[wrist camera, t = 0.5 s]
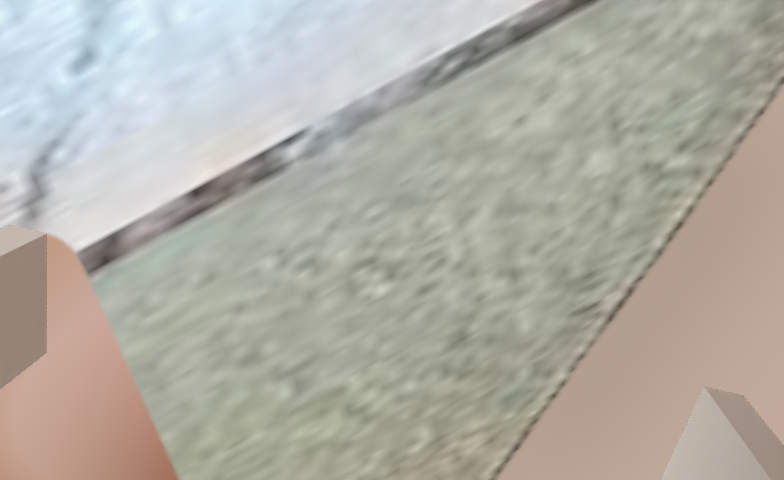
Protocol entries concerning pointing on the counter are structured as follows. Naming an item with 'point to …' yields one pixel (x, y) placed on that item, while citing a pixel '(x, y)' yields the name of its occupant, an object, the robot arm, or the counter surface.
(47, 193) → the counter surface
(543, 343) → the counter surface
